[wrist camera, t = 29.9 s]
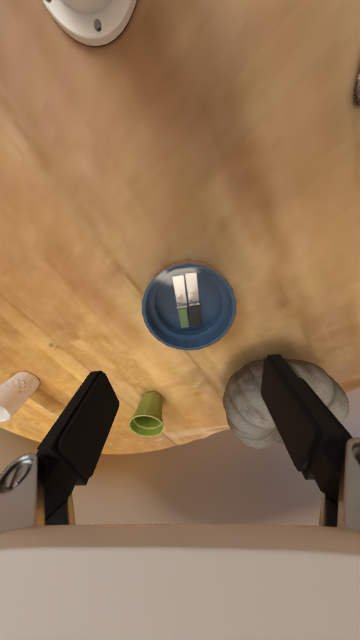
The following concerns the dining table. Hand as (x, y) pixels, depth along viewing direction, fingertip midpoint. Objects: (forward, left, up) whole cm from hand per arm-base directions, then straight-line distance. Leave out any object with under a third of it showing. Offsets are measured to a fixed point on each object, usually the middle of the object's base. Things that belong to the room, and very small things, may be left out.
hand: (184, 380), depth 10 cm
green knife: (+5, -1, -26) cm, 26 cm away
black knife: (+4, +1, -26) cm, 26 cm away
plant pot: (+35, -15, -26) cm, 46 cm away
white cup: (+23, -50, -26) cm, 61 cm away
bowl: (+5, 0, -26) cm, 27 cm away
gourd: (+30, +18, -26) cm, 44 cm away
